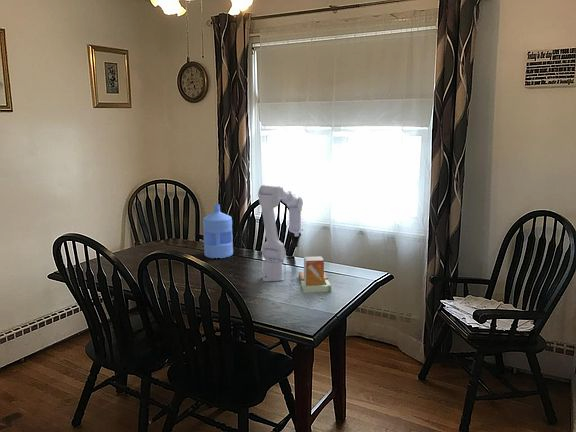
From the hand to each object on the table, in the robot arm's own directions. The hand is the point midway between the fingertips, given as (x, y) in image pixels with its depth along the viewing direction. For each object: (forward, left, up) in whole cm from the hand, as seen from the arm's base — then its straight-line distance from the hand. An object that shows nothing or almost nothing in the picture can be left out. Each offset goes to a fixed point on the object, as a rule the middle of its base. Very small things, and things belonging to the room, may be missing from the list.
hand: (295, 246), depth 246 cm
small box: (+4, -31, -10) cm, 33 cm away
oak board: (+5, -23, -10) cm, 25 cm away
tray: (+5, -34, -10) cm, 36 cm away
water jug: (-39, +25, -10) cm, 47 cm away
